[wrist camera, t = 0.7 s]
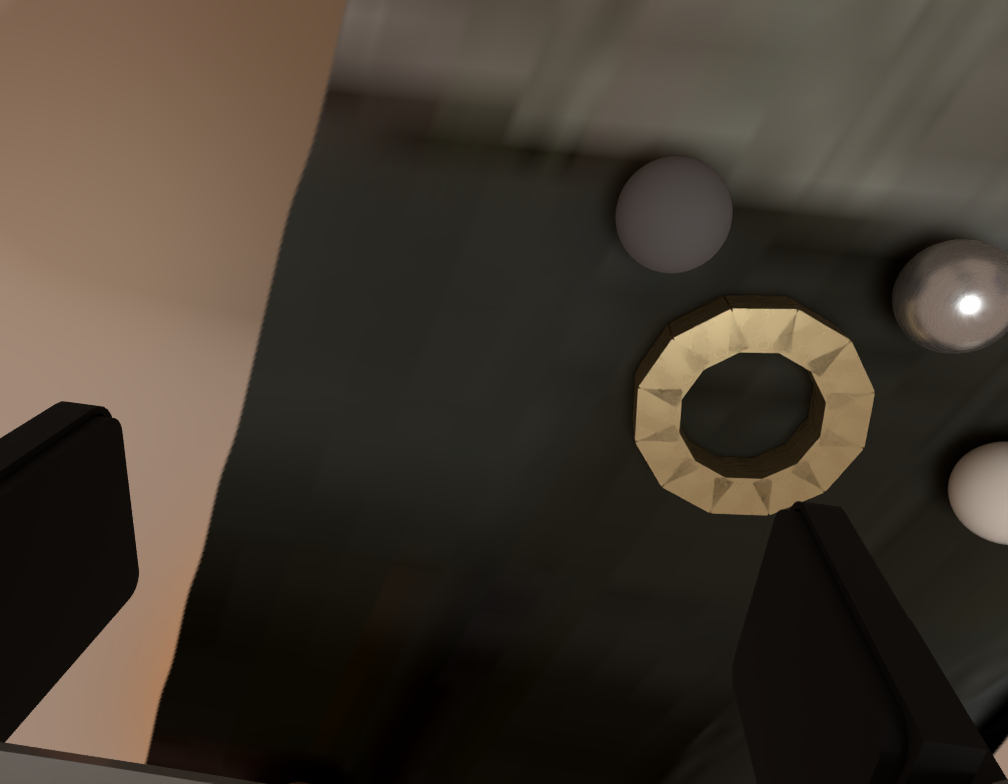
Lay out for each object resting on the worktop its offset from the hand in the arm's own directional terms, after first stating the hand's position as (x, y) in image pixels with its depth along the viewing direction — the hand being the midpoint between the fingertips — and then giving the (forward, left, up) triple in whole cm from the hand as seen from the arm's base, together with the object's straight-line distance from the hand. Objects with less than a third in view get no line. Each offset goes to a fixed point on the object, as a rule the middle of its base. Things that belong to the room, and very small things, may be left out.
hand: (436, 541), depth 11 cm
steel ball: (+5, +20, -29) cm, 36 cm away
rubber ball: (+1, +6, -29) cm, 30 cm away
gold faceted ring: (+12, +11, -32) cm, 36 cm away
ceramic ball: (+16, +25, -29) cm, 41 cm away
